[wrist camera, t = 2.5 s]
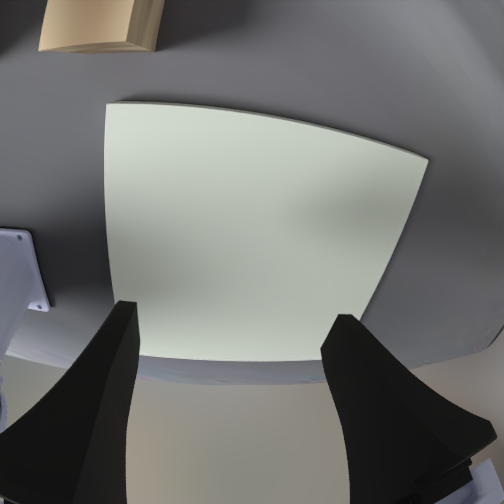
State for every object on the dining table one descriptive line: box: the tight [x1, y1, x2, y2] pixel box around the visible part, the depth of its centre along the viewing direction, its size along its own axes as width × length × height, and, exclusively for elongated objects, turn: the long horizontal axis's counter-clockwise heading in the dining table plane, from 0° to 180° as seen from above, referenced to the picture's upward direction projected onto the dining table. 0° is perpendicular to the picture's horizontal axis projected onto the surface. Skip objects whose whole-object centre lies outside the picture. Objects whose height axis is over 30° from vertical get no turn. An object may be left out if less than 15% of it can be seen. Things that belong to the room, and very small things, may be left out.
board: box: [104, 101, 429, 361], centre depth 21 cm, size 20×20×2 cm
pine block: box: [39, 0, 165, 54], centre depth 9 cm, size 4×4×6 cm
